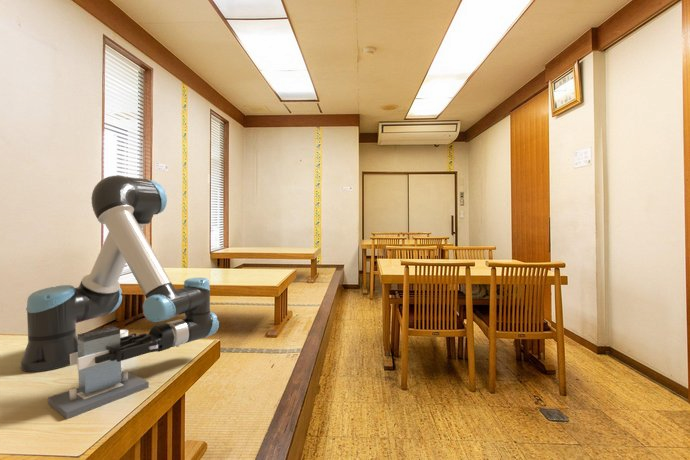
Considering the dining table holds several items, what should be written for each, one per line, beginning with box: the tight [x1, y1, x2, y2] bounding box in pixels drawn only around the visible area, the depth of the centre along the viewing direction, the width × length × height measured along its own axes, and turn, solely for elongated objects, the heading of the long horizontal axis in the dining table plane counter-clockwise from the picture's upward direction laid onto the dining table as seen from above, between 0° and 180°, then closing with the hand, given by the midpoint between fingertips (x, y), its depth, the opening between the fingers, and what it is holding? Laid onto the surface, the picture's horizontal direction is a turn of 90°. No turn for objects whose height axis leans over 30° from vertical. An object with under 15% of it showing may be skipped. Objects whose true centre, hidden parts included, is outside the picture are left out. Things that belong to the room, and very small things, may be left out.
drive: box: [76, 325, 122, 394], centre depth 90 cm, size 4×8×14 cm, turn 146°
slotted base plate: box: [47, 370, 150, 420], centre depth 90 cm, size 12×18×4 cm, turn 146°
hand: (74, 361), depth 85 cm, fingers closed on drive, 4 cm apart
